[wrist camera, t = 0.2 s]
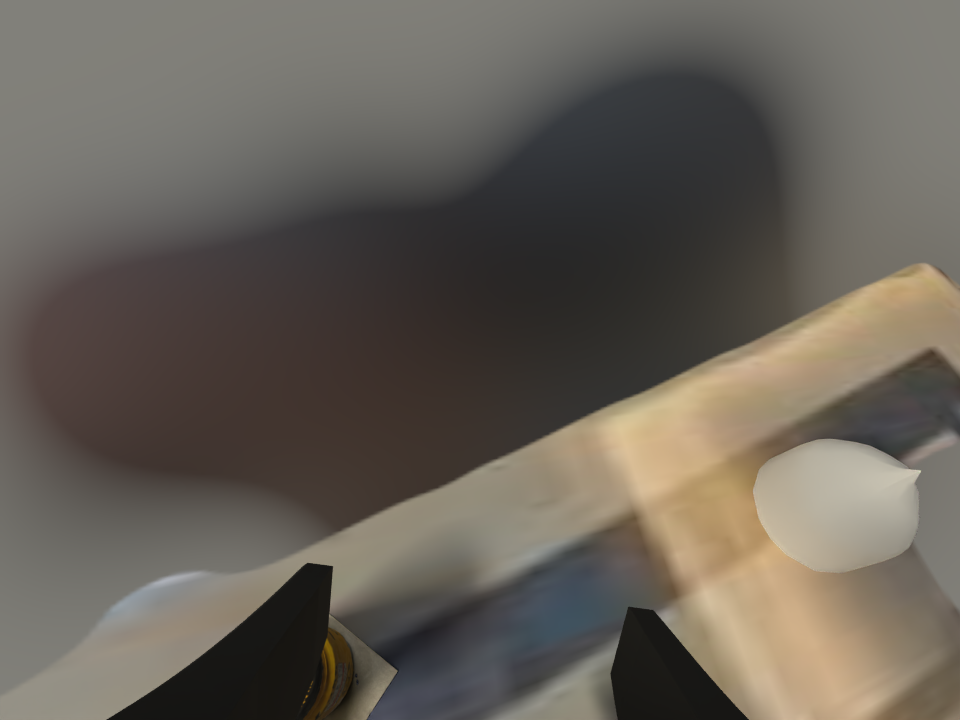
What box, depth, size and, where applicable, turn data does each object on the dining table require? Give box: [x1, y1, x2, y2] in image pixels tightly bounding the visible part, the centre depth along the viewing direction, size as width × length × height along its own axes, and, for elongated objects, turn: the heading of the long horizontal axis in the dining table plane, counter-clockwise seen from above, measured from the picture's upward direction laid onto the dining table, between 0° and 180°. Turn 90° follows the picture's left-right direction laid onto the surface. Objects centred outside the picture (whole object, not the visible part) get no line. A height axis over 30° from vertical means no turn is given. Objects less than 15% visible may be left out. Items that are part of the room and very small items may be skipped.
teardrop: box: [753, 439, 921, 573], centre depth 41 cm, size 11×11×12 cm
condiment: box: [296, 614, 397, 720], centre depth 31 cm, size 7×8×12 cm
